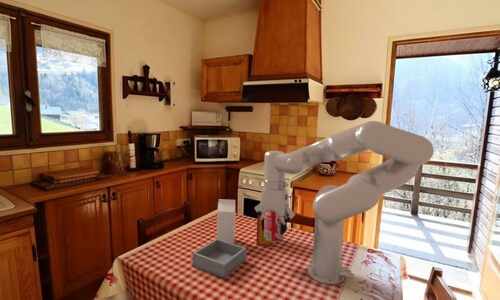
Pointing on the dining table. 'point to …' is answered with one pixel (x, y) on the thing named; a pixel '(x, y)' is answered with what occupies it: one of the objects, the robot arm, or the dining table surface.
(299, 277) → the dining table surface
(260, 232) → the baking soda box
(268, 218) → the soda can
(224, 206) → the milk carton
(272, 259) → the dining table surface
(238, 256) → the bin
